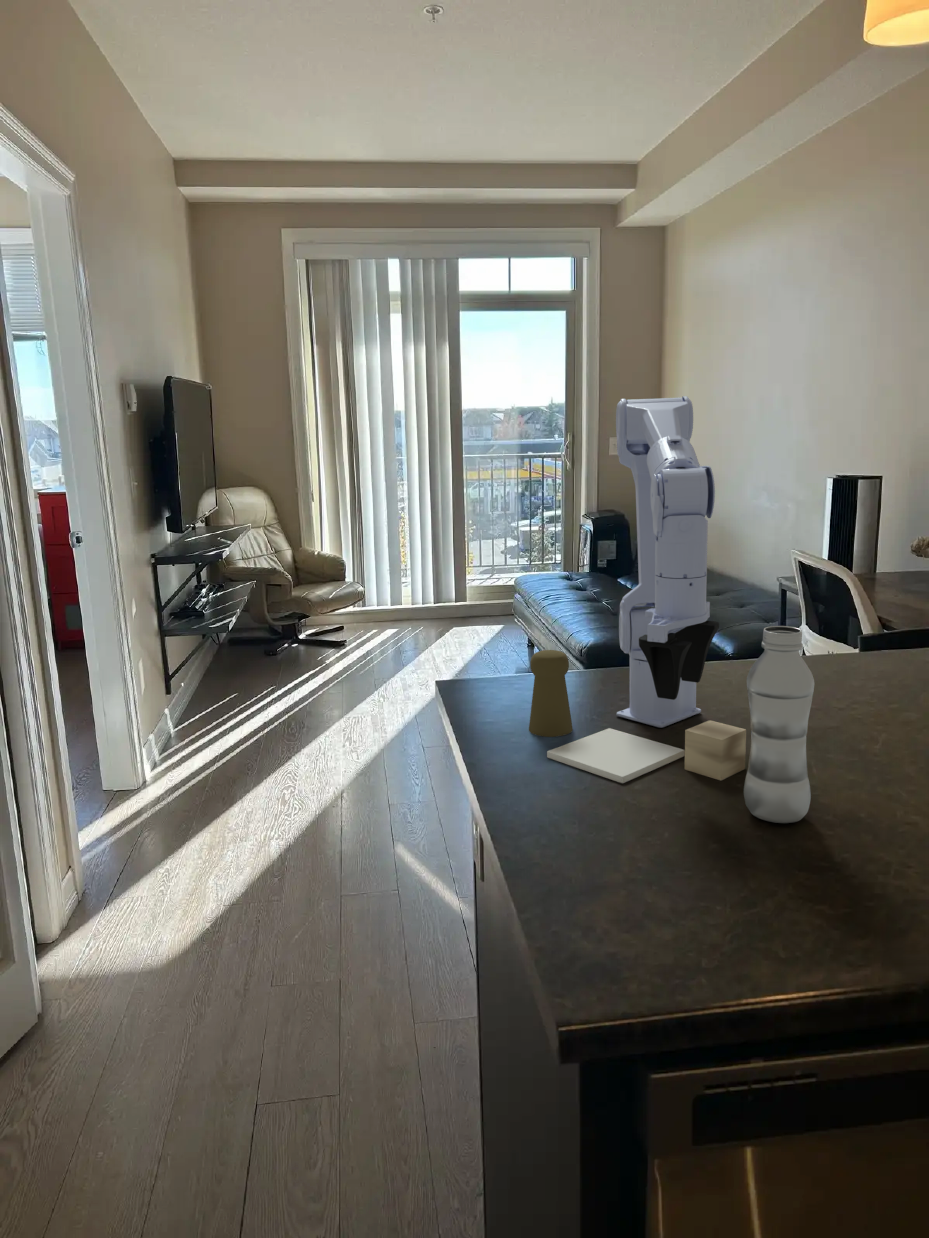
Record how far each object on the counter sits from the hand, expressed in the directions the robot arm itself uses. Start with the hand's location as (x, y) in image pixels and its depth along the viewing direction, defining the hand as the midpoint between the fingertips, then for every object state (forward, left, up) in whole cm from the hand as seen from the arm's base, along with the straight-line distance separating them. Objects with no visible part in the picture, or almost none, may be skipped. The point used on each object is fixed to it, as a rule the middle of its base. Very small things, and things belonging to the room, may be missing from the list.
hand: (679, 689), depth 104 cm
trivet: (+2, -8, -10) cm, 13 cm away
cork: (0, -21, -10) cm, 23 cm away
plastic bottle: (+4, +15, -10) cm, 19 cm away
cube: (-3, +3, -10) cm, 11 cm away
